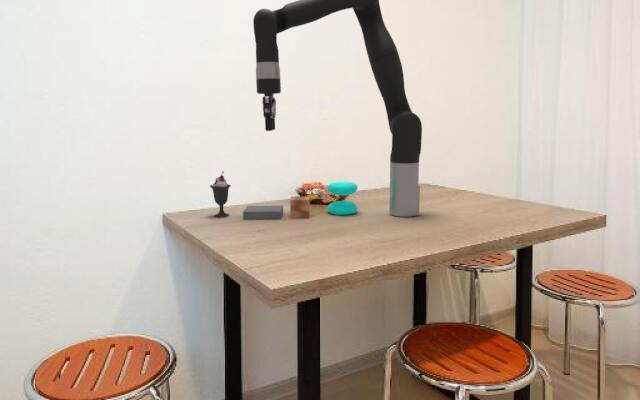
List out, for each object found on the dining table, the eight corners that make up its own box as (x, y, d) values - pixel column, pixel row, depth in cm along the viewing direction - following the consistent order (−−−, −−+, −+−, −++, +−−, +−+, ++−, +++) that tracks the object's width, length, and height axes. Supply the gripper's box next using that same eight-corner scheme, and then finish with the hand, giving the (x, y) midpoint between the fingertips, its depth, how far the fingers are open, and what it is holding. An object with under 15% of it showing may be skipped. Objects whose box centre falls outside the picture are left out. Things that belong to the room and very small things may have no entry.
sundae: (227, 218, 157) (225, 171, 154) (208, 217, 158) (205, 171, 155) (235, 213, 163) (233, 169, 160) (216, 213, 164) (214, 169, 162)
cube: (309, 214, 162) (309, 196, 160) (309, 218, 156) (309, 199, 155) (291, 214, 162) (291, 196, 160) (290, 218, 156) (290, 200, 155)
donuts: (336, 186, 155) (322, 182, 164) (336, 216, 157) (322, 211, 166) (363, 184, 159) (348, 180, 168) (362, 213, 161) (348, 208, 170)
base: (283, 214, 164) (282, 205, 163) (281, 220, 154) (280, 211, 154) (247, 214, 164) (247, 205, 163) (243, 221, 154) (242, 212, 154)
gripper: (278, 76, 144) (280, 131, 147) (281, 79, 158) (283, 129, 161) (253, 76, 144) (255, 131, 147) (258, 79, 158) (261, 129, 161)
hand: (270, 130), depth 154 cm, fingers open, 8 cm apart
